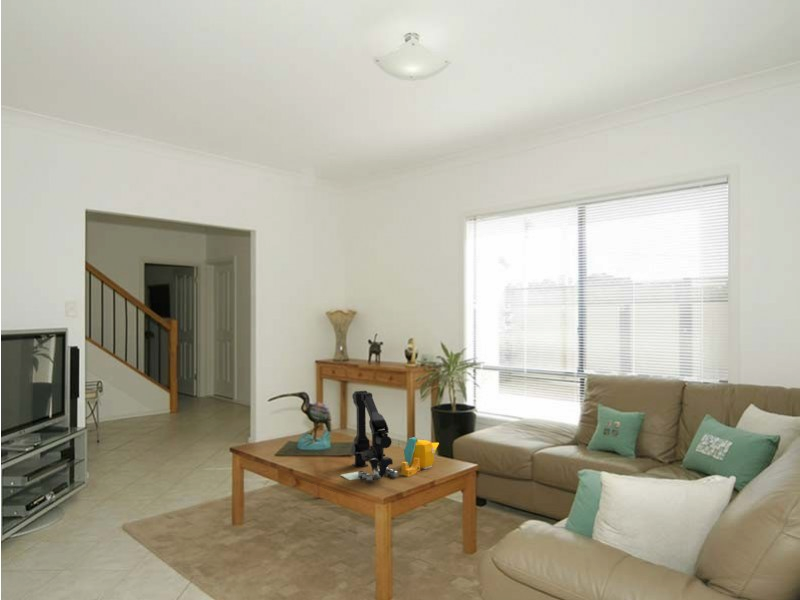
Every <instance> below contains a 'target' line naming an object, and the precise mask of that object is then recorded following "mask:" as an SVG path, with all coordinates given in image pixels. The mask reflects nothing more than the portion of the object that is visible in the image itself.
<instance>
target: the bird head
mask: <svg viewBox="0 0 800 600" xmlns="http://www.w3.org/2000/svg"><path fill="white" fill-rule="evenodd" d="M439 445H440V443H439V442H431V441H429V440H427V439H426V440H423V439H417V437H414V436H413V437H409V438H408V440H407V442H406V445H405V447H404V449H403V453H404V454H403V455H404V462H408V466H409V468H410V467H411V466H412V464H413V461H414V458H420V470H428V469H431V468H433V466H434V461H435V453H436V452H437V448H438V446H439Z"/></svg>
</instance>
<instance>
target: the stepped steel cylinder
mask: <svg viewBox="0 0 800 600" xmlns="http://www.w3.org/2000/svg"><path fill="white" fill-rule="evenodd" d="M372 473H373V474H372V475H373V480H381V479H382V478H383V477H380V471H379V467H377V469H374V470H373V471H372Z"/></svg>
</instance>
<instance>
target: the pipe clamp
mask: <svg viewBox="0 0 800 600" xmlns="http://www.w3.org/2000/svg"><path fill="white" fill-rule="evenodd" d="M417 471H418V472H421V469H420V458H414V461H413V464H412V466H410V467H409V466H408V462H405V461H402V462H401V476H404V477H411V476H413V475H416V474H417V473H418V472H417Z"/></svg>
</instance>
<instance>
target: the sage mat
mask: <svg viewBox="0 0 800 600" xmlns="http://www.w3.org/2000/svg"><path fill="white" fill-rule="evenodd" d="M358 472H359V471H355V472H348V473H343V474H340V477H342V478H344V479H346V480H348V481H349V482H350V481H356V480H361V479H360V478H359V477H358Z"/></svg>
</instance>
